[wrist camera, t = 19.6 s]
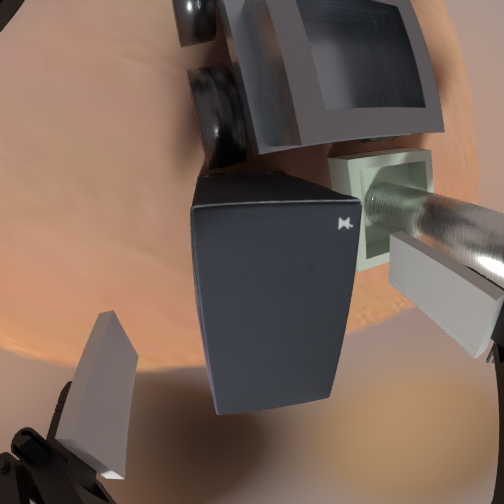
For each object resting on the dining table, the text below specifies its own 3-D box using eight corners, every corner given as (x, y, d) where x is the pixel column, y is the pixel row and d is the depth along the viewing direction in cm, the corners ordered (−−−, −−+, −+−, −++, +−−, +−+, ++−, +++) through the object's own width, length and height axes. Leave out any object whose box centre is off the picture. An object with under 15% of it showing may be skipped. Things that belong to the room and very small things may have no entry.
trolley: (170, -3, 13) (160, -100, 3) (323, -13, 14) (396, -77, 4) (207, 168, 18) (217, 186, 8) (364, 139, 19) (477, 147, 9)
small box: (190, 174, 18) (180, 199, 8) (285, 170, 19) (371, 193, 9) (202, 312, 22) (212, 421, 12) (283, 304, 23) (336, 398, 13)
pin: (357, 176, 19) (544, 227, 6) (402, 173, 20) (561, 215, 7) (358, 238, 20) (515, 331, 8) (402, 228, 21) (543, 298, 8)
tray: (327, 158, 19) (347, 160, 16) (407, 147, 20) (430, 149, 17) (339, 257, 22) (357, 272, 19) (411, 234, 23) (432, 245, 20)
